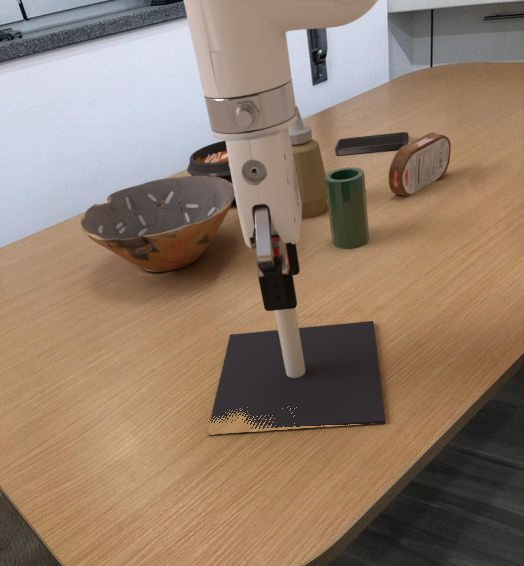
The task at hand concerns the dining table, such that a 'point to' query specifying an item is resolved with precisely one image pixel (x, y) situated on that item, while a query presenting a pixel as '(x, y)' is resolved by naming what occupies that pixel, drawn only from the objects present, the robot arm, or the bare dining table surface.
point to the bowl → (161, 220)
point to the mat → (303, 378)
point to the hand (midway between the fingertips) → (283, 289)
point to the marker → (289, 336)
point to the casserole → (211, 162)
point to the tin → (419, 164)
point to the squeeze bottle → (308, 169)
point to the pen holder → (347, 207)
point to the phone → (371, 143)
